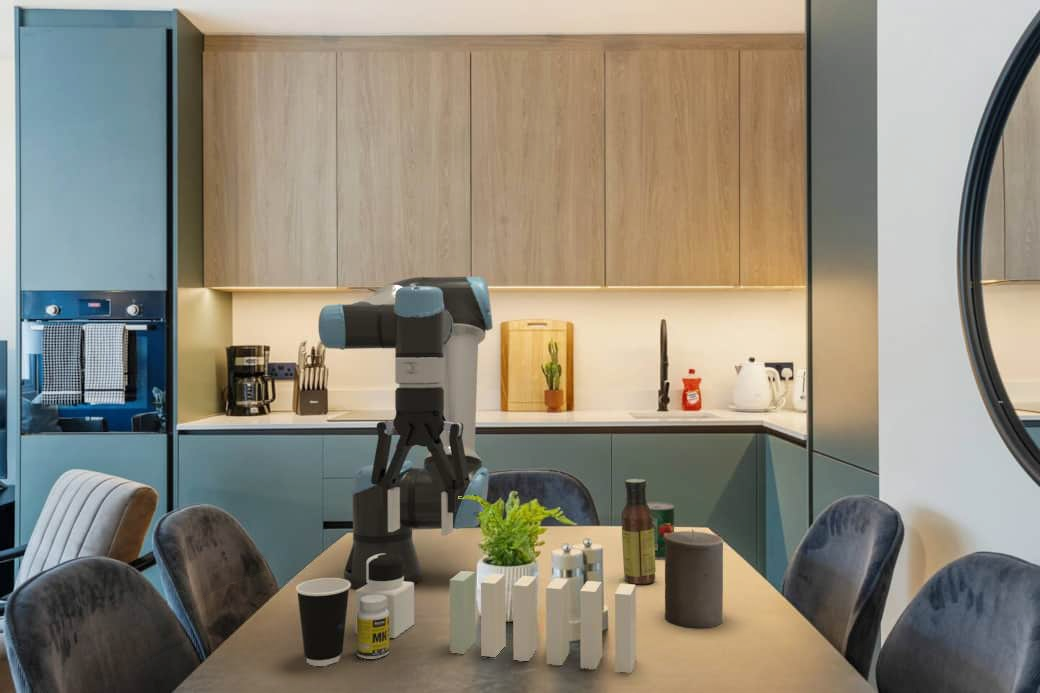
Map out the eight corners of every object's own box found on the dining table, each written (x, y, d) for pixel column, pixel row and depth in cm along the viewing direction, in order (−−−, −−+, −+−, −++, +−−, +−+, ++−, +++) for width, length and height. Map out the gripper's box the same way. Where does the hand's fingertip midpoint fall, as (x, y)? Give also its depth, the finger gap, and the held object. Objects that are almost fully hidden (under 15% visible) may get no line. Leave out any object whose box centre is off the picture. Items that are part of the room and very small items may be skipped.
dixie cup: (359, 662, 113) (359, 586, 113) (306, 675, 108) (306, 596, 108) (339, 646, 119) (338, 574, 119) (288, 657, 115) (287, 583, 115)
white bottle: (415, 624, 128) (414, 552, 129) (394, 639, 122) (394, 563, 122) (377, 620, 131) (376, 549, 131) (354, 634, 124) (354, 559, 124)
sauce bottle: (654, 576, 155) (653, 477, 155) (656, 586, 149) (656, 482, 149) (621, 576, 156) (620, 477, 156) (622, 585, 150) (621, 482, 150)
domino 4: (580, 668, 110) (580, 590, 110) (587, 655, 115) (587, 580, 115) (595, 669, 110) (595, 592, 110) (602, 656, 114) (601, 582, 115)
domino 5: (615, 672, 109) (614, 593, 109) (621, 658, 114) (620, 583, 114) (631, 673, 108) (630, 594, 108) (636, 660, 113) (635, 584, 113)
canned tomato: (638, 549, 177) (637, 501, 177) (673, 550, 176) (673, 502, 176) (638, 559, 169) (638, 508, 169) (675, 560, 168) (675, 509, 168)
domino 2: (513, 660, 113) (513, 585, 113) (523, 648, 118) (522, 575, 118) (528, 662, 112) (527, 586, 113) (537, 649, 117) (536, 576, 117)
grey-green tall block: (450, 653, 116) (449, 579, 116) (462, 641, 121) (461, 570, 121) (463, 654, 115) (463, 581, 115) (475, 642, 120) (475, 571, 120)
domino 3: (546, 664, 112) (546, 587, 112) (555, 651, 116) (554, 578, 117) (561, 665, 111) (560, 589, 111) (569, 653, 116) (568, 579, 116)
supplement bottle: (374, 663, 112) (373, 605, 113) (350, 656, 115) (350, 599, 115) (396, 652, 117) (395, 596, 117) (372, 646, 119) (372, 591, 119)
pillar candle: (659, 624, 128) (660, 533, 128) (669, 606, 137) (669, 521, 137) (720, 632, 124) (720, 538, 124) (726, 612, 134) (726, 525, 134)
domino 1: (481, 656, 115) (480, 582, 115) (492, 644, 119) (491, 573, 119) (495, 658, 114) (494, 583, 114) (505, 646, 119) (505, 574, 119)
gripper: (346, 386, 120) (347, 533, 120) (475, 387, 114) (476, 541, 114) (369, 384, 127) (370, 522, 127) (491, 385, 121) (492, 530, 121)
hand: (420, 531), depth 120 cm, fingers open, 8 cm apart
